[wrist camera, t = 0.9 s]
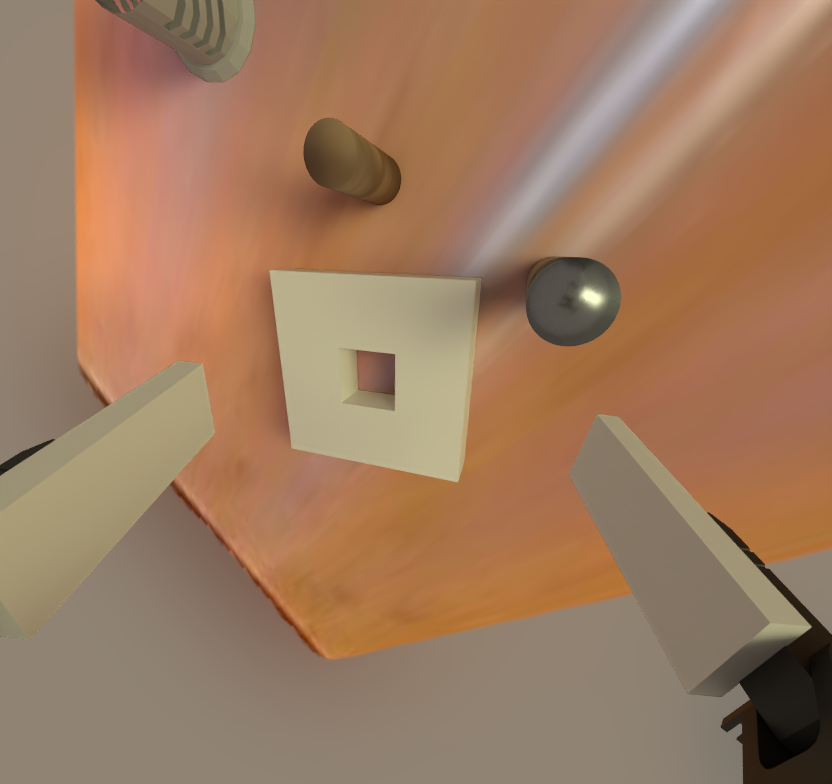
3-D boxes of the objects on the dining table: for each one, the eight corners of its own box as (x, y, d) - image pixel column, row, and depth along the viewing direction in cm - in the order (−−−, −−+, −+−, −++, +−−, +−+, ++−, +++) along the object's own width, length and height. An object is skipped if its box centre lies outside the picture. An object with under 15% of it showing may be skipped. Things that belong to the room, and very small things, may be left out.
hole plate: (294, 268, 37) (269, 270, 33) (481, 277, 32) (476, 280, 28) (310, 432, 44) (291, 448, 41) (464, 461, 39) (457, 482, 36)
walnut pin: (359, 155, 31) (300, 120, 23) (401, 152, 30) (355, 115, 22) (360, 205, 32) (306, 188, 24) (400, 204, 31) (357, 187, 23)
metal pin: (530, 255, 30) (533, 256, 16) (580, 257, 29) (631, 259, 15) (523, 302, 31) (520, 342, 17) (570, 305, 30) (608, 350, 16)
